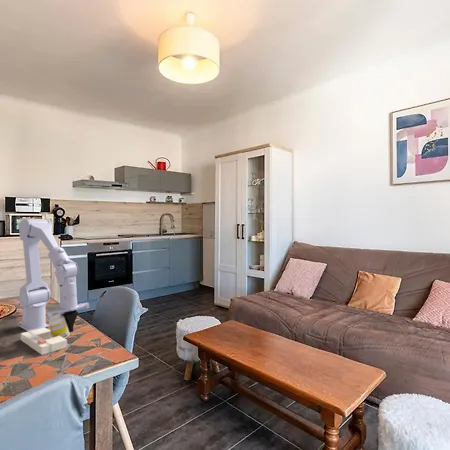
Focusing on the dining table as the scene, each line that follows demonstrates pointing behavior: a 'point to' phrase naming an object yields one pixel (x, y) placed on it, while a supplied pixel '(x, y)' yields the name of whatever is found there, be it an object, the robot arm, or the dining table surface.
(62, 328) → the supplement bottle
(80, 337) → the dining table surface
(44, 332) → the socket dock
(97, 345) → the dining table surface
